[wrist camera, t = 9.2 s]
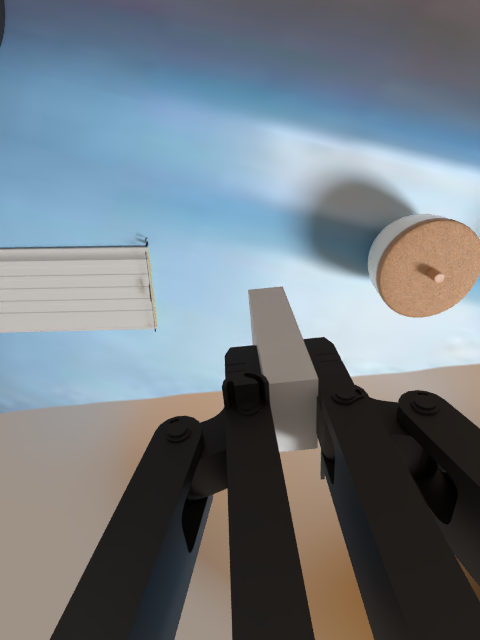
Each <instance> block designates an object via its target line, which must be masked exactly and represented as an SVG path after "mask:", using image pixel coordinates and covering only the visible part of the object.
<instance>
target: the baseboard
mask: <svg viewBox="0 0 480 640" xmlns="http://www.w3.org/2000/svg"><path fill="white" fill-rule="evenodd" d="M146 239H147V238H146ZM146 239H145V241H146ZM147 245H148V241H147V243H146V246H143V247H74V248H6V249H0V332H43V331H85V330H128V329H155V332H156V328H157V320H156V311H155V303H154V294H153V286H152V277H151V268H150V260H149V251H148V246H147Z"/></svg>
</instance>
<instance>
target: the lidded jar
mask: <svg viewBox="0 0 480 640" xmlns="http://www.w3.org/2000/svg"><path fill="white" fill-rule="evenodd" d="M368 271H369V276H370V279H371V281H372V284H373V285H374V287H375V289H376V291H377V292H378V293H379V295H380V296H381V298H382V299H383V301H384V302H385V303H386V304H387V305H388V306H389V307H390V308H391V309H392V310H393V311H395V312H397V313H399V314H401V315H404V316H407V317H428V316H432V315H436V314H439V313H441V312H443V311H445V310H447V309H449V308H451V307H453V306H454V305H455V304H457V303H458V302H459V301H460V300H461V299H463V298H464V297H465V296H466V295H467V293H468V292H469V291H470V290H471V288H472V287H473V285H474V284H475V282H476V280H477V278H478V276H479V273H480V241H479V238H478V237H477V235H476V234H475V232H473V231H472V230H471V229H470V228H469V227H468V226H466V225H464V224H463V223H460V222H458V221H455V220H452V219H447V218H444V217H442V216H437V215H431V214H414V215H409V216H406V217H403V218H400V219H398V220H396V221H394V222H392V223H391V224H389V225H388V226H387V227H385V228H384V229H383V230H382V231H381V232H380V233H379V234H378V236H377V237H376V239H375V240H374V242H373V244H372V246H371V249H370V252H369V256H368Z"/></svg>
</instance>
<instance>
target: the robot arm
mask: <svg viewBox="0 0 480 640" xmlns="http://www.w3.org/2000/svg"><path fill="white" fill-rule="evenodd" d="M4 26H5V6H4V0H0V46H1V42H2V39H3V33H4ZM248 293H249V305H250V317H251V329H252V341H253V345H252V346H242V347H232V348H230V349H229V350H228V352H227V353H226V355H225V380H224V381H223V385H222V391H223V398H224V406H225V407H224V409H223V410H222V411H221V412H220V413H219V414H218V415H217V416H215V417H213V418H211V419H209V420H207V421H204V422H201V423H199V421H197V420H196V419H195V418H192V417H188V416H177V417H174V418H171V419H168V420H166V421H165V422H163V423H162V424H161V425H160V426H159V427H158V429H157V430H156V431H155V433H154V435H153V437H152V439H151V441H150V443H149V445H148V447H147V449H146V451H145V453H144V455H143V457H142V459H141V461H140V463H139V465H138V467H137V468H136V471H135V473H134V474H133V476H132V478H131V480H130V482H129V484H128V486H127V488H126V490H125V492H124V494H123V496H122V498H121V500H120V502H119V504H118V506H117V508H116V510H115V512H114V514H113V516H112V518H111V520H110V522H109V524H108V526H107V528H106V530H105V532H104V534H103V536H102V538H101V539H100V541H99V543H98V545H97V547H96V549H95V551H94V554H93V556H92V557H91V559H90V561H89V563H88V565H87V567H86V569H85V571H84V573H83V575H82V577H81V579H80V581H79V583H78V585H77V587H76V589H75V591H74V593H73V595H72V597H71V599H70V601H69V603H68V605H67V607H66V609H65V611H64V613H63V615H62V616H61V619H60V620H59V622H58V625H57V626H56V628H55V630H54V633H53V634H52V636H51V638H50V640H174V639H175V635H176V631H177V628H178V624H179V620H180V617H181V613H182V609H183V605H184V602H185V598H186V594H187V591H188V587H189V584H190V580H191V576H192V573H193V569H194V565H195V562H196V558H197V554H198V551H199V547H200V543H201V540H202V536H203V532H204V529H205V525H206V521H207V518H208V514H209V511H210V507H211V503H212V500H213V494H215V493H217V492H219V491H222V490H224V489H226V488H228V514H229V515H228V516H229V546H230V576H231V605H232V606H231V608H232V638H233V640H315V638H314V633H313V628H312V622H311V617H310V612H309V606H308V601H307V596H306V591H305V585H304V580H303V575H302V569H301V565H300V559H299V554H298V548H297V543H296V538H295V533H294V528H293V522H292V517H291V512H290V507H289V501H288V496H287V490H286V486H285V480H284V475H283V469H282V464H281V459H280V454H279V452H286V451H296V450H305V449H314V448H317V438H318V440H319V443H320V446H321V479H325V476H326V480H327V483H328V486H329V490H330V492H331V496H332V499H333V503H334V506H335V509H336V513H337V516H338V520H339V523H340V526H341V530H342V533H343V536H344V540H345V543H346V546H347V550H348V553H349V557H350V560H351V563H352V567H353V570H354V573H355V577H356V580H357V583H358V587H359V590H360V593H361V597H362V600H363V603H364V607H365V610H366V614H367V616H368V620H369V624H370V627H371V630H372V634H373V637H374V640H480V602H479V600H478V598H477V596H476V594H475V592H474V591H473V589H472V587H471V585H470V583H469V581H468V579H467V578H466V576H465V574H464V572H463V570H462V568H461V567H460V565H459V563H458V561H457V559H458V560H459V561H460V562H461V564H462V565H463V566H464V567H465V569H466V570H467V571H468V572H469V573H470V575H471V576H472V577H473V579H474V580H475V581H476V582H477V584H478V585H479V586H480V429H479V428H478V427H477V426H476V425H475V424H473V423H472V422H471V421H470V420H469V419H467V418H466V417H465V416H464V415H462V414H461V413H460V412H459V411H458V410H456V409H455V408H454V407H453V406H452V405H450V404H449V403H448V402H447V401H445V400H444V399H442V398H441V397H439V396H438V395H436V394H433V393H430V392H427V391H419V390H416V391H408V392H406V393H404V394H402V395H401V397H400V398H399V401H398V403H397V402H388V401H381V400H376V399H373V398H370V397H369V396H368V394H367V393H366V392H365V391H364V389H362V388H360V387H359V386H357V385H354V383H353V381H352V379H351V377H350V375H349V373H348V371H347V369H346V367H345V366H344V364H343V362H342V361H341V358H340V356H339V354H338V352H337V350H336V348H335V346H334V344H333V343H331V342H330V341H329V340H327V339H326V338H325V337H320V338H311V339H303V338H302V335H301V333H300V330H299V328H298V325H297V322H296V320H295V317H294V315H293V312H292V309H291V307H290V304H289V302H288V299H287V297H286V294H285V291H284V289H283V287H273V288H263V289H253V290H248ZM455 556H456V557H457V559H456V557H455Z"/></svg>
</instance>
